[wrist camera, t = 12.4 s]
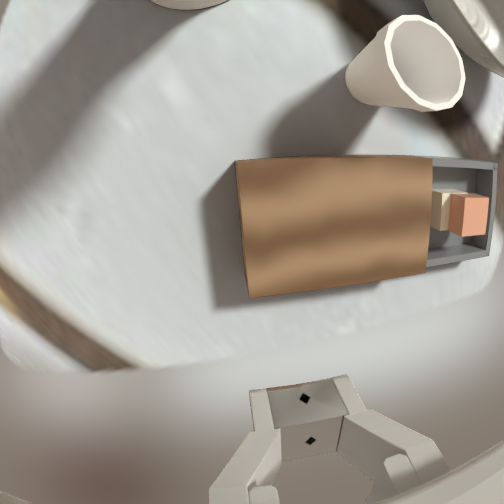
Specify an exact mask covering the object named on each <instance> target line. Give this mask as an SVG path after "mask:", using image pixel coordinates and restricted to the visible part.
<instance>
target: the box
mask: <svg viewBox="0 0 504 504" xmlns="http://www.w3.org/2000/svg"><path fill="white" fill-rule="evenodd" d="M409 156H411V155H409ZM415 157H423V158H430V159H433V179H432V189H456V190H460V191H463V192H467V193H474V194H478V195H481V196H485V197H488V198H489V205H488V215H487V224H486V232H485V234H484V235H474V236H465V237H461V236H459V235H457V234H455V233H452V232H450V231H448V230H444V231H439V230H437V229H435V228H433V227H431V226H430V235H429V246H428V255H427V263H426V267H430V266H436V265H442V264H448V263H453V262H459V261H464V260H470V259H475V258H480V257H486V256H489V252H490V246H491V239H492V231H493V223H494V213H495V202H496V186H497V163H493V162H488V161H482V160H475V159H463V158H450V157H433V156H415Z"/></svg>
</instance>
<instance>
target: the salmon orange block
mask: <svg viewBox="0 0 504 504" xmlns="http://www.w3.org/2000/svg"><path fill="white" fill-rule="evenodd" d="M488 205H489V198H488V197H485V196H481V195H478V194H474V193H451V199H450V213H449V224H448V231H450V232H452V233H455V234H457V235H459V236H461V237H465V236H474V235H484V234H485V232H486V224H487V215H488Z"/></svg>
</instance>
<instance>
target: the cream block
mask: <svg viewBox="0 0 504 504" xmlns="http://www.w3.org/2000/svg"><path fill="white" fill-rule="evenodd" d="M451 193H467V192H463V191H460V190H456V189H432V207H431V223H430V226H431V227H433V228H435V229H437V230H439V231H444V230H448V224H449V213H450V199H451Z"/></svg>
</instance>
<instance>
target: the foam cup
mask: <svg viewBox="0 0 504 504" xmlns="http://www.w3.org/2000/svg"><path fill="white" fill-rule="evenodd" d="M465 79H466V78H465V72H464V66H463V61H462V57H461V55H460V53H459V51H458V50H457V48H456V46H455V44H454V42H453V40H452V39H451V38H450V37H449V35H448V34H447V33H446V32H445V31H444V30H443V29H442V28H441V27H440V26H439V25H438V24H436V23H434V22H432V21H430V20H428V19H426V18H424V17H422V16H420V15H401V16H400V17H398V18H396V19H394V20H393V21H391V22H389V23H388V24H387V25H386V26H384V27H383V28H382V29H380V30H379V31H378V32H377V34H376V37H375V38H374V39H373V40H372V41H371V42H370V43H369V44H368V45H367V46H366V47H365V48H364V49H363V50H362V51H361V52H360V53H359V54H358V55H357V56H356V57H355V58H354V59H353V60H352V61H351V62H350V64H349V65H348V66H347V69H346V72H345V80H346V86H347V88H348V89H349V91H350V93H351V94H352V96H353V97H355V98H356V99H357V100H358V101H360V102H361V103H365V104H369V105H374V106H388V107H399V108H409V109H415V110H418V111H420V112H427V111H438V110H443V109H447V108H452V107H453V106H454V105H455V103H456V102H457V101H458V100H459V99H460V98H461V96H462V94H463V89H464V84H465Z"/></svg>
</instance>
